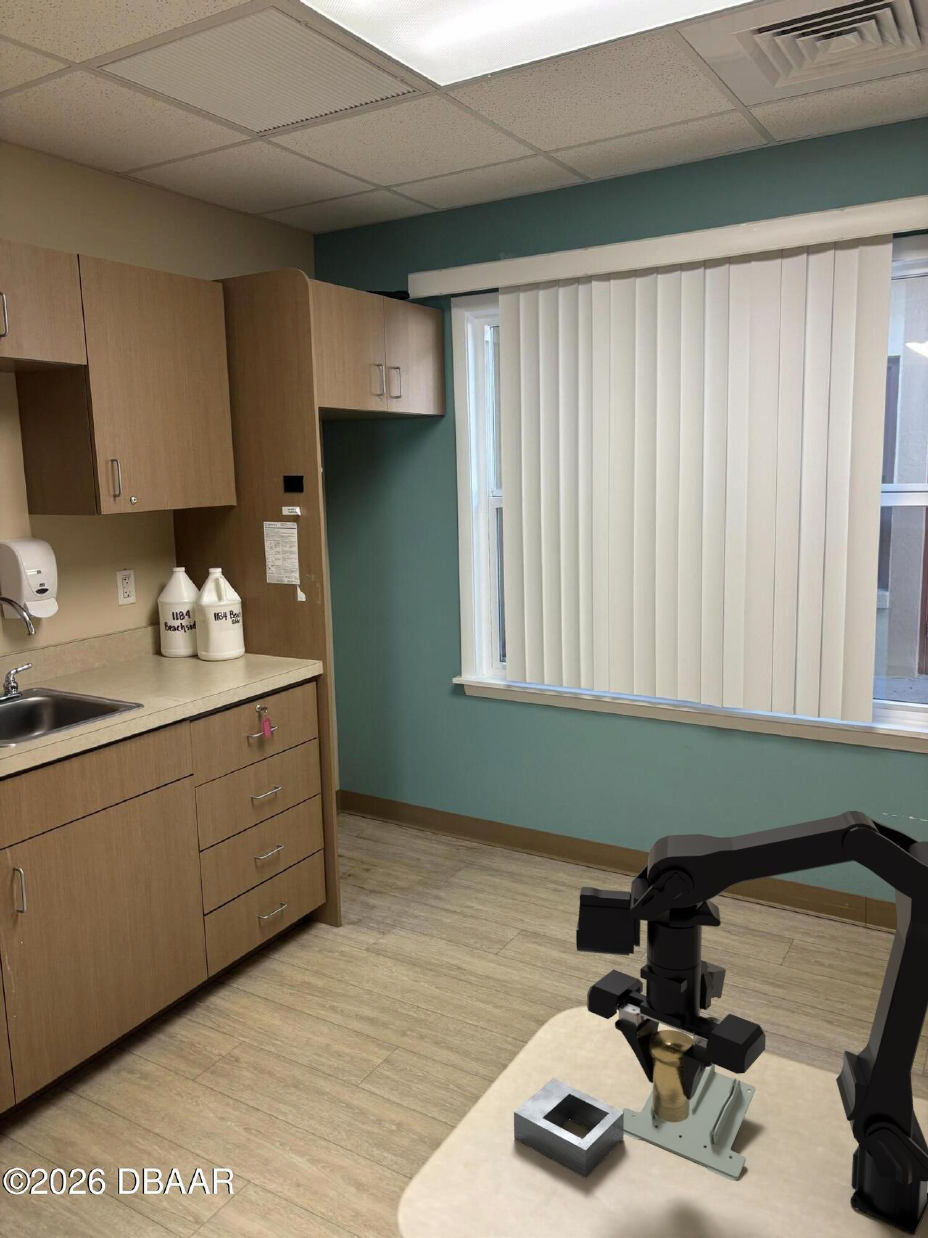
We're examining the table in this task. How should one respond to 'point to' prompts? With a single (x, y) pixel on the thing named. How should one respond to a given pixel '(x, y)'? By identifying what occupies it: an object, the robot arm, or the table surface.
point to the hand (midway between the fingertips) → (671, 1089)
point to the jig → (544, 1133)
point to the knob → (669, 1075)
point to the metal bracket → (700, 1124)
